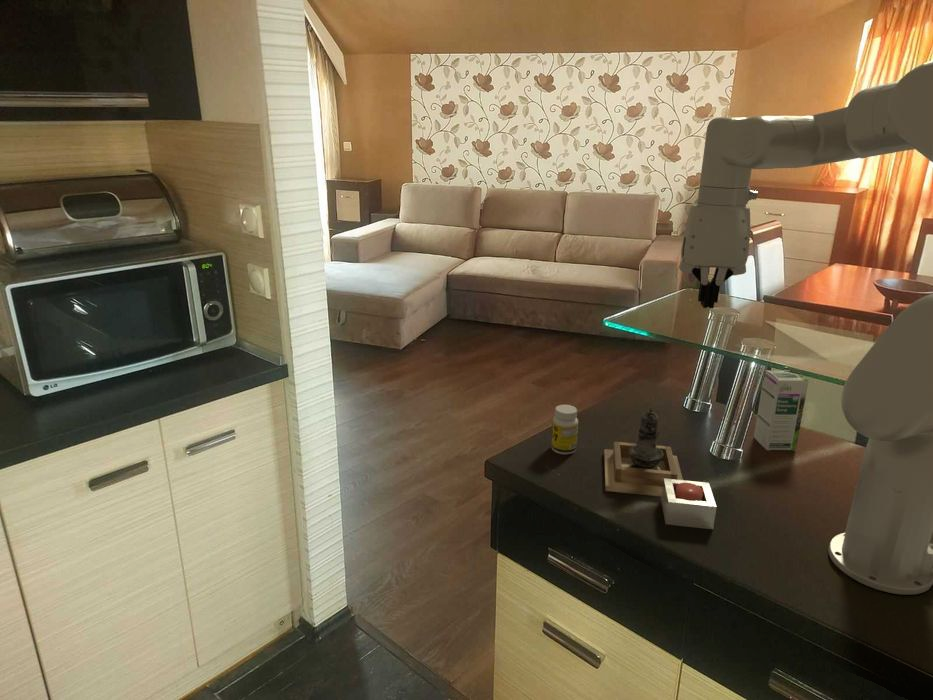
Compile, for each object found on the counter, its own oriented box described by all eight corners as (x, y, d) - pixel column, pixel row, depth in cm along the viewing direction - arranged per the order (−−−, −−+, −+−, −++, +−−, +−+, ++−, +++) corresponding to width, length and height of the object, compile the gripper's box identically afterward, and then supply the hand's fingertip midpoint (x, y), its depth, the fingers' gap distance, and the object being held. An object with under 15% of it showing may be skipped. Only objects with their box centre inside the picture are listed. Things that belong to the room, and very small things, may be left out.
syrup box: (766, 451, 122) (779, 380, 117) (752, 436, 128) (764, 368, 123) (796, 451, 122) (810, 380, 118) (781, 436, 128) (794, 368, 123)
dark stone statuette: (622, 473, 112) (629, 410, 108) (631, 459, 117) (637, 398, 113) (657, 482, 110) (665, 418, 106) (664, 466, 115) (671, 404, 111)
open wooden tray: (676, 460, 119) (678, 443, 117) (685, 498, 107) (688, 480, 105) (604, 453, 121) (605, 437, 120) (605, 490, 109) (607, 472, 108)
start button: (698, 500, 104) (700, 484, 103) (702, 514, 100) (705, 497, 99) (672, 497, 104) (674, 481, 103) (675, 511, 100) (677, 495, 100)
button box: (705, 504, 105) (708, 482, 104) (713, 529, 99) (716, 506, 97) (661, 499, 106) (663, 478, 105) (665, 524, 100) (668, 501, 99)
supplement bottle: (549, 443, 125) (551, 403, 122) (573, 443, 125) (576, 403, 122) (553, 455, 120) (555, 414, 117) (578, 455, 120) (581, 414, 118)
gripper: (764, 196, 108) (747, 302, 114) (671, 193, 110) (659, 298, 116) (777, 201, 101) (758, 314, 107) (677, 199, 103) (664, 309, 109)
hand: (706, 305), depth 111 cm, fingers closed
